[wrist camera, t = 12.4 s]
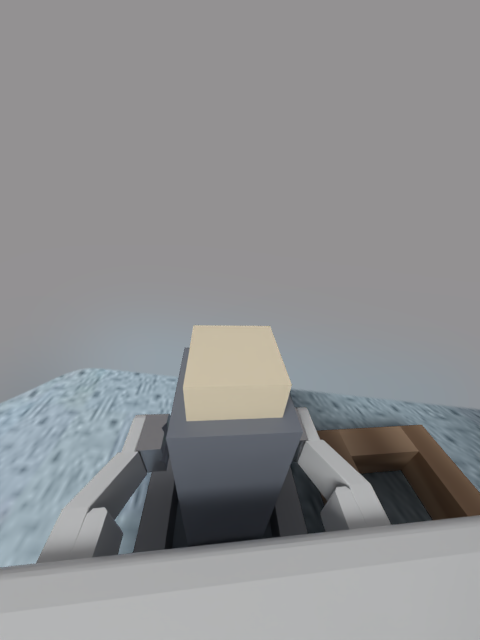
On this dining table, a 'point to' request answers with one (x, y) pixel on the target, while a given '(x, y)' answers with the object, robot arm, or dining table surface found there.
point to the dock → (167, 524)
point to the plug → (231, 433)
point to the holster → (409, 465)
